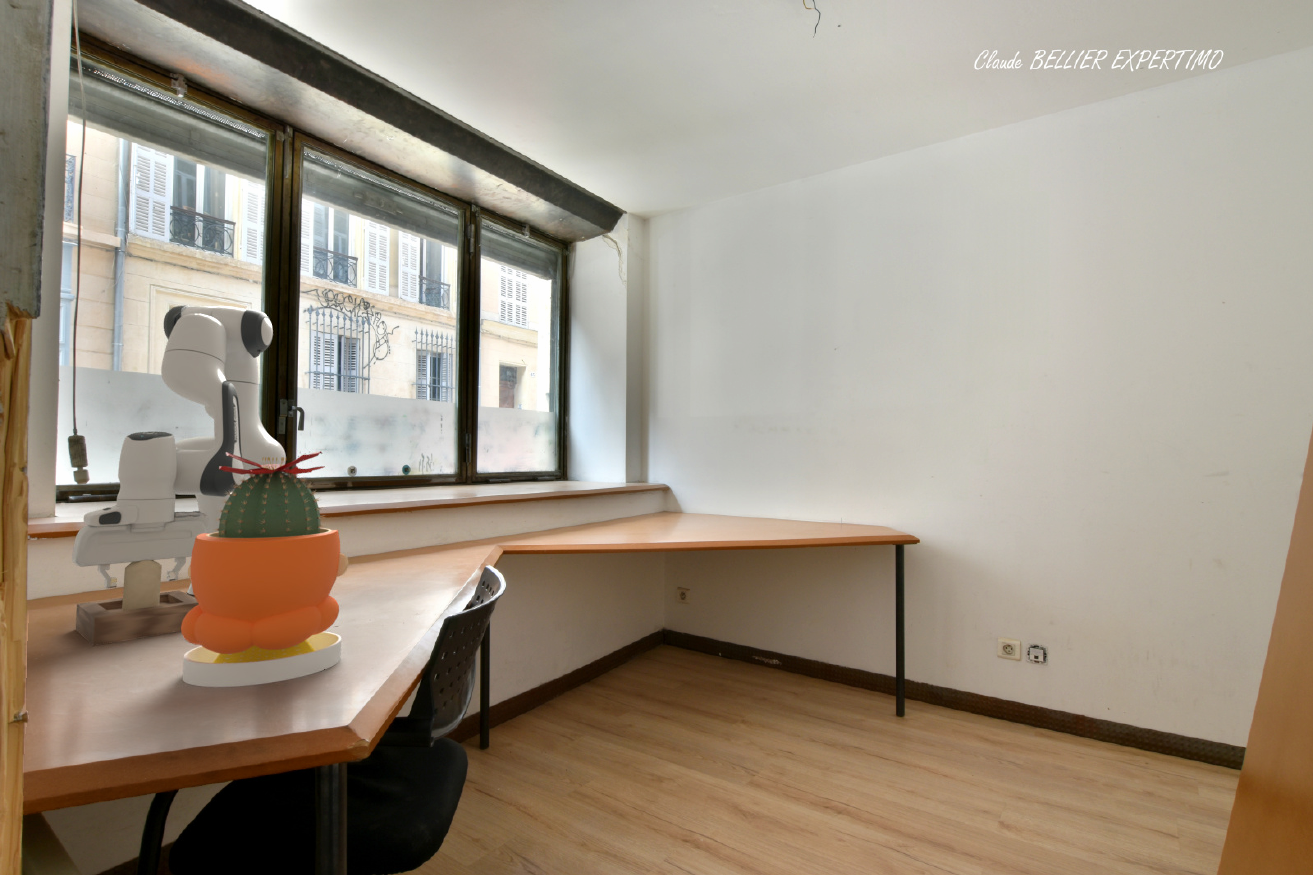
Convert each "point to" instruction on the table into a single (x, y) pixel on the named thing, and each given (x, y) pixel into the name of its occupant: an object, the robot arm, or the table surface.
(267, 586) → the potted cactus
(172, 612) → the walnut block
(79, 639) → the table surface
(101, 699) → the table surface
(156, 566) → the candle
